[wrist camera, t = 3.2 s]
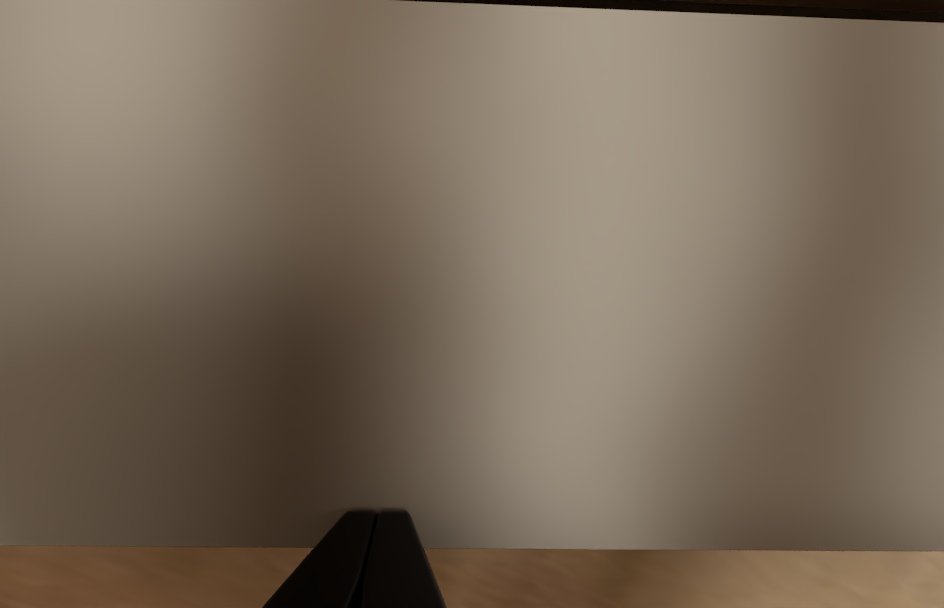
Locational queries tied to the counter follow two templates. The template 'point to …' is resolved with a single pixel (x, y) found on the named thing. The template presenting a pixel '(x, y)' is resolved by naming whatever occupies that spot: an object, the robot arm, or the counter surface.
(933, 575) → the counter surface
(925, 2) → the walnut plank
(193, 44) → the grey plank
